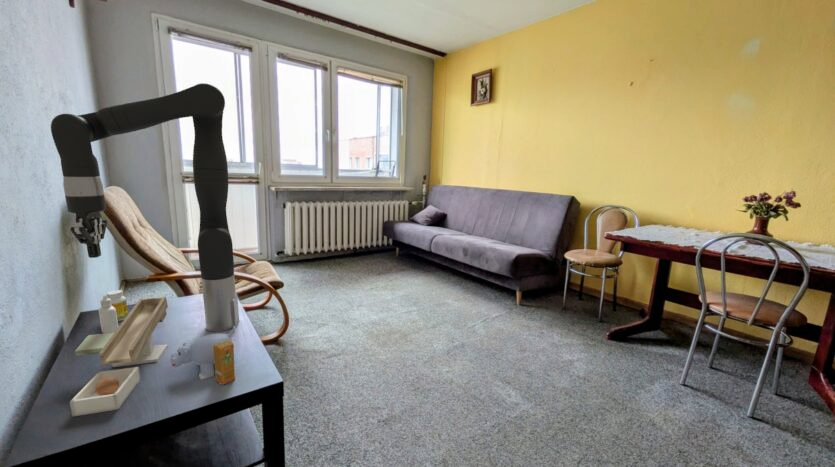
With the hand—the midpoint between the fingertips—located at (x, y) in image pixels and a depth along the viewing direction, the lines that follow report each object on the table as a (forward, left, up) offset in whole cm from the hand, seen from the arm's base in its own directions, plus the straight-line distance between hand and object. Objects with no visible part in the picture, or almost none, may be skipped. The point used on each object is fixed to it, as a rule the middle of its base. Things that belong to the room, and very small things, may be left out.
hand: (95, 256), depth 95 cm
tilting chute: (-8, +8, -22) cm, 25 cm away
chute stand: (-11, +9, -27) cm, 30 cm away
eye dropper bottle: (+4, -10, -27) cm, 29 cm away
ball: (-11, +26, -24) cm, 37 cm away
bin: (-11, +26, -27) cm, 39 cm away
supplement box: (-35, +27, -27) cm, 52 cm away
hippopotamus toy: (-29, +19, -27) cm, 44 cm away
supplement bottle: (+6, -20, -27) cm, 34 cm away
